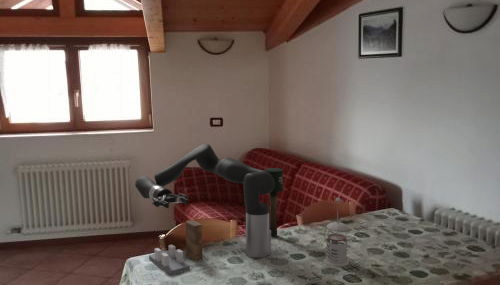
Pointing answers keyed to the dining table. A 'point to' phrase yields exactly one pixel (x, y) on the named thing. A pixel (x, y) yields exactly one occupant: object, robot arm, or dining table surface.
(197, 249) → the brown wooden block
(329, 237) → the french press
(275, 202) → the potato masher grenade
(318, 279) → the dining table surface
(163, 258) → the hinge base
